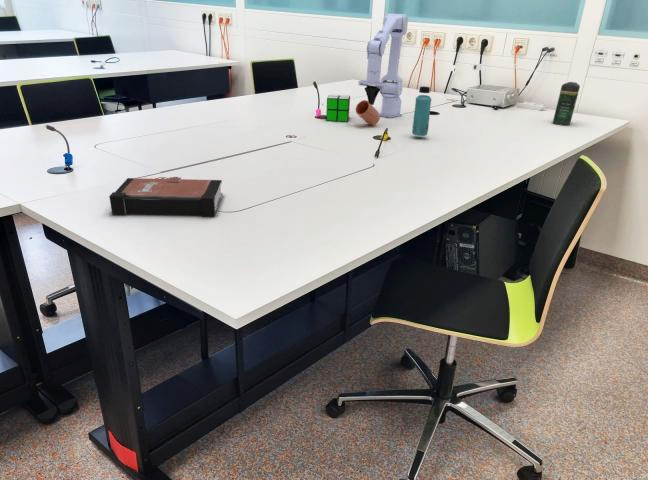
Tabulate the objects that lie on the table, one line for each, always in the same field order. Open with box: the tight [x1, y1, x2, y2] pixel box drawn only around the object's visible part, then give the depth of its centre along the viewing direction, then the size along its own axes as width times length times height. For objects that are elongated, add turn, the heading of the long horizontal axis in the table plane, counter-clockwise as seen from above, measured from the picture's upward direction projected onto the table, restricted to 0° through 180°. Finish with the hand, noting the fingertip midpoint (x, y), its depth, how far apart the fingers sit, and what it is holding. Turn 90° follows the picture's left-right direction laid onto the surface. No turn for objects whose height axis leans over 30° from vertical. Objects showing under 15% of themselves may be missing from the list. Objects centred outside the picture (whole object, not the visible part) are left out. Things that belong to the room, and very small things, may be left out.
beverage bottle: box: [411, 85, 432, 137], centre depth 220 cm, size 6×7×20 cm
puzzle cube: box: [325, 94, 351, 123], centre depth 250 cm, size 10×10×10 cm
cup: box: [355, 99, 381, 127], centre depth 238 cm, size 7×7×10 cm
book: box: [108, 176, 224, 218], centre depth 146 cm, size 26×18×5 cm
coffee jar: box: [552, 81, 581, 126], centre depth 256 cm, size 10×8×19 cm
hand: (371, 104), depth 238 cm, fingers closed, pressing on cup
